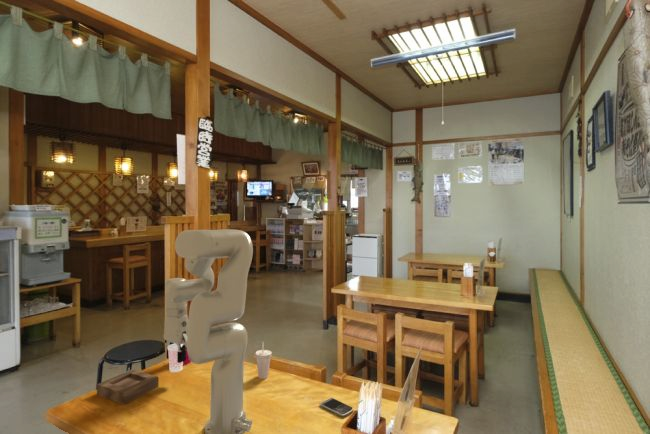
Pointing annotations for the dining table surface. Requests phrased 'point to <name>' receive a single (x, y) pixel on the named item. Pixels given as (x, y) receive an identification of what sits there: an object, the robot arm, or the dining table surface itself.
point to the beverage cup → (174, 358)
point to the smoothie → (263, 362)
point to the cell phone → (336, 407)
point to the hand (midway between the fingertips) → (176, 359)
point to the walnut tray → (127, 386)
